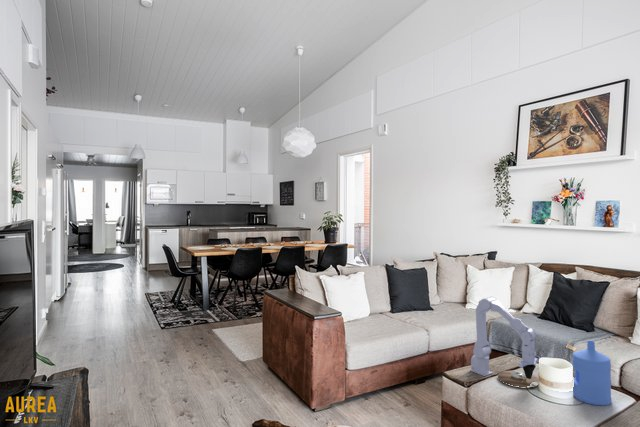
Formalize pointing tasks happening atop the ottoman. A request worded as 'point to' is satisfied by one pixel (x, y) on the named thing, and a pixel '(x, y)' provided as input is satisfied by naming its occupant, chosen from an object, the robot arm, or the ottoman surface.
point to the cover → (517, 375)
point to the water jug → (592, 376)
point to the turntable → (506, 378)
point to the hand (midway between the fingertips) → (528, 378)
